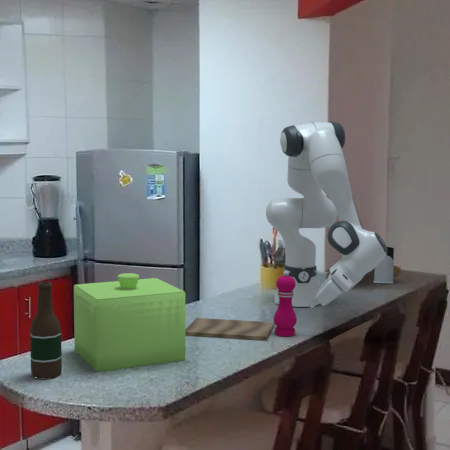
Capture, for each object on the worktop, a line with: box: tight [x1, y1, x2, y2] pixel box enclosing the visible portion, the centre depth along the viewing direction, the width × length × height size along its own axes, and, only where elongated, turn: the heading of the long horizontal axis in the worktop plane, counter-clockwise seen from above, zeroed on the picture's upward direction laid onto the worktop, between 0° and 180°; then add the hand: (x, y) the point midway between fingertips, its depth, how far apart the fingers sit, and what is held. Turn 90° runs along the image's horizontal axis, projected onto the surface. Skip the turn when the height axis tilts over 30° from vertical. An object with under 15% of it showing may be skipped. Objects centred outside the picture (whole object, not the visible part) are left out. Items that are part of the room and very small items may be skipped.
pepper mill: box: [273, 270, 298, 337], centre depth 231 cm, size 7×7×20 cm
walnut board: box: [185, 317, 275, 341], centre depth 236 cm, size 26×18×1 cm
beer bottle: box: [29, 281, 63, 379], centre depth 189 cm, size 8×8×24 cm
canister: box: [73, 272, 186, 373], centre depth 207 cm, size 25×21×23 cm
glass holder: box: [372, 246, 395, 284], centre depth 318 cm, size 9×14×15 cm, turn 170°
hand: (310, 305), depth 230 cm, fingers closed
